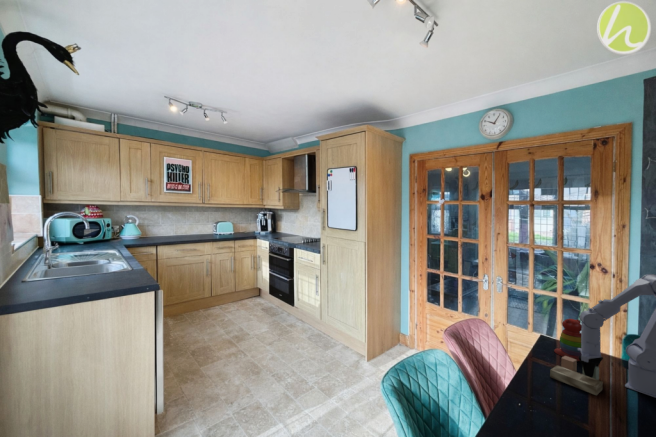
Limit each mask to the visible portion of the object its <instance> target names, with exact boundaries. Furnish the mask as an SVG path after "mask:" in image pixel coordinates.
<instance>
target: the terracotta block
mask: <svg viewBox="0 0 656 437" xmlns="http://www.w3.org/2000/svg"><path fill="white" fill-rule="evenodd" d="M560 360H561V361H560V362H561V364H560V366H561V367H564V368H566V369H569V370H572V371H575V372H577V371H578V370H577V366H578V365H577V364H578V363H577V362H578V361H577V360H576V359H573V358H570V357H567V356H564V357H562V356H561V358H560Z"/></svg>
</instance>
